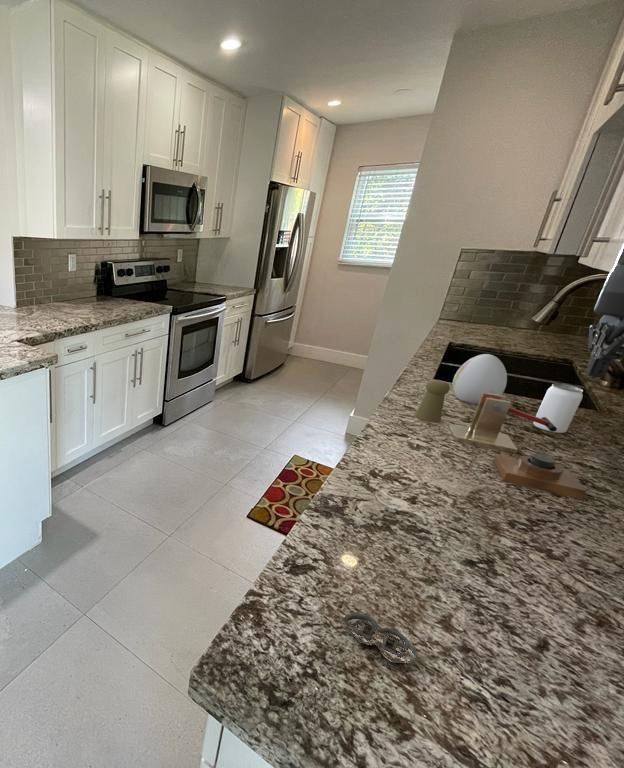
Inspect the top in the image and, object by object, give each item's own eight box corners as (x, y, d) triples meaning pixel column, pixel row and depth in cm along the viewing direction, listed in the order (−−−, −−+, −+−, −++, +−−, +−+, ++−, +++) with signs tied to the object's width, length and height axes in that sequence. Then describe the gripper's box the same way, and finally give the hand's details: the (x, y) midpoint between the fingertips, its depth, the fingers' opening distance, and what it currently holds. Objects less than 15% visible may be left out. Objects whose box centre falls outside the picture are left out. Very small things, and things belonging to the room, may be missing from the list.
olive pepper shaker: (439, 416, 117) (451, 380, 113) (442, 424, 112) (455, 386, 108) (413, 411, 120) (424, 376, 116) (415, 418, 115) (427, 382, 111)
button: (548, 463, 87) (552, 456, 86) (555, 471, 84) (558, 464, 83) (526, 458, 88) (529, 451, 88) (531, 466, 85) (535, 459, 85)
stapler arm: (543, 424, 99) (550, 416, 98) (552, 434, 94) (560, 426, 93) (481, 401, 104) (487, 393, 103) (487, 409, 99) (493, 401, 98)
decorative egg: (473, 392, 135) (489, 348, 130) (509, 408, 124) (528, 360, 118) (438, 392, 134) (453, 348, 129) (471, 408, 123) (489, 360, 117)
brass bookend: (505, 438, 105) (523, 396, 101) (516, 454, 98) (535, 409, 93) (447, 427, 110) (462, 386, 106) (453, 440, 103) (469, 397, 99)
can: (564, 436, 107) (584, 393, 102) (530, 427, 111) (548, 386, 107) (567, 429, 111) (586, 388, 106) (534, 420, 115) (551, 381, 111)
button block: (564, 478, 88) (571, 462, 87) (581, 500, 81) (590, 483, 80) (492, 462, 94) (498, 446, 92) (502, 481, 87) (509, 465, 85)
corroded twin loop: (348, 610, 56) (350, 604, 56) (418, 648, 51) (421, 643, 51) (337, 635, 53) (339, 629, 52) (412, 679, 48) (414, 673, 47)
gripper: (685, 296, 70) (639, 389, 76) (641, 287, 81) (604, 369, 87) (622, 293, 74) (582, 382, 80) (588, 284, 84) (556, 364, 91)
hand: (594, 376), depth 83 cm, fingers closed
